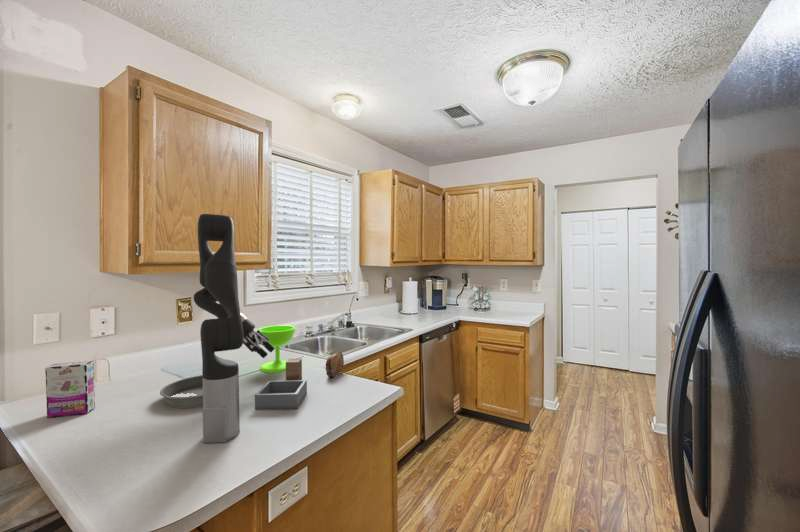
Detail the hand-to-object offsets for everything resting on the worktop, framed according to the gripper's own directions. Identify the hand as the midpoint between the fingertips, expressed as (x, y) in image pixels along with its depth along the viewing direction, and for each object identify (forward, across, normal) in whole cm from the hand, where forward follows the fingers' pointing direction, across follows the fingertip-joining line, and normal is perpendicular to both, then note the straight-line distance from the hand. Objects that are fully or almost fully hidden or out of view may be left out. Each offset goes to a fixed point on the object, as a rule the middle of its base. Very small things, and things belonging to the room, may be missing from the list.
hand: (269, 353), depth 143 cm
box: (+16, -16, +2) cm, 23 cm away
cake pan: (-6, -9, +25) cm, 28 cm away
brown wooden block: (+16, 0, +2) cm, 16 cm away
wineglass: (+6, +25, +12) cm, 29 cm away
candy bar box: (-32, -22, +50) cm, 63 cm away
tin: (+26, +14, -7) cm, 30 cm away
